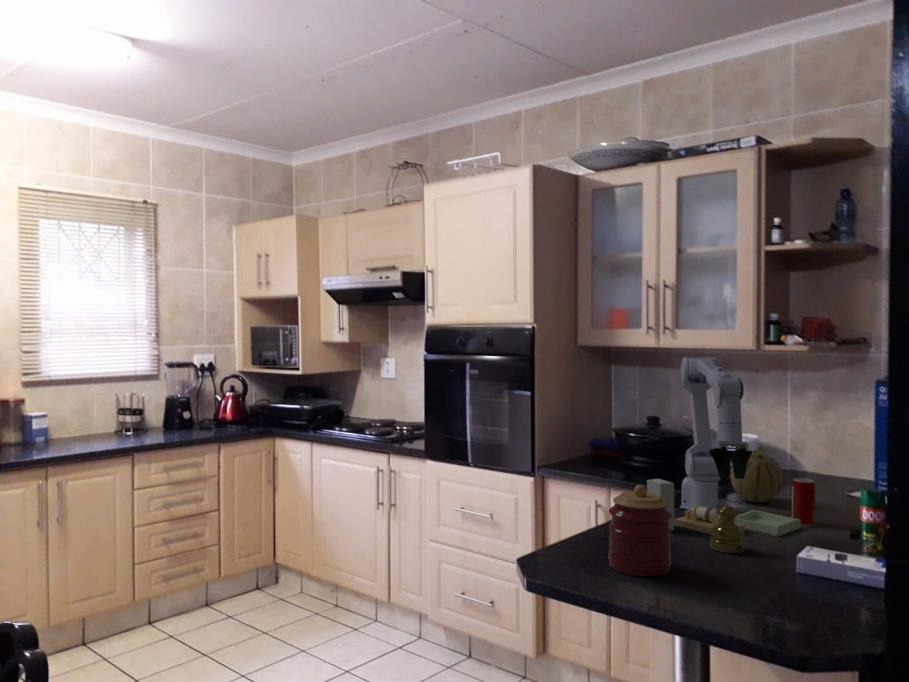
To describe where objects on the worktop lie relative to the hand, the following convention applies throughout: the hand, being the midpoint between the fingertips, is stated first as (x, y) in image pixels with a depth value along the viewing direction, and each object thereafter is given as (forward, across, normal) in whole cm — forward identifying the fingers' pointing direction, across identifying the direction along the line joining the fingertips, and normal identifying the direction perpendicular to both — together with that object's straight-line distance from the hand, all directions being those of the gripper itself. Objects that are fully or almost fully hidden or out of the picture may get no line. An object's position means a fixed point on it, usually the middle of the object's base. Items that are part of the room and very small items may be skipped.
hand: (732, 478), depth 175 cm
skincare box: (+13, -9, +16) cm, 22 cm away
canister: (+19, -38, +1) cm, 43 cm away
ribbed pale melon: (+7, +39, +14) cm, 42 cm away
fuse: (+11, +1, +7) cm, 13 cm away
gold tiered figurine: (+16, -12, -4) cm, 21 cm away
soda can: (+12, +25, -6) cm, 28 cm away
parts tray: (+12, +14, -1) cm, 19 cm away
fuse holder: (+13, +1, +7) cm, 15 cm away
